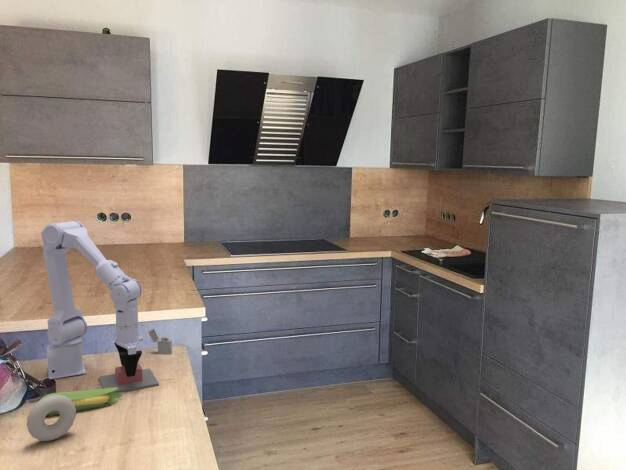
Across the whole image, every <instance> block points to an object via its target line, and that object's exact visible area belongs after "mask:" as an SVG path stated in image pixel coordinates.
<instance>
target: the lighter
mask: <svg viewBox="0 0 626 470" xmlns="http://www.w3.org/2000/svg"><path fill="white" fill-rule="evenodd" d="M148 334H149V336H150V338H151V340H152V342H153V343H156V342H157V355H172V352H173V351H172V349H173V346H172V345H173V344H172V342H173V341H172V339H170V338H169V337H167V336H162V337H161V339H160V338H159V336H158V334H157V332H156V331H155V328H151V329H149V330H148Z"/></svg>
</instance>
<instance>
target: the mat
mask: <svg viewBox="0 0 626 470" xmlns="http://www.w3.org/2000/svg"><path fill="white" fill-rule="evenodd" d="M98 379H99V382H100V385H101V389H104V388H113V387H116V388H118V389H116V390H114V391H112V392H117V393H125V392H131V391H136V390H140V389H146V388H147V387H148V388H152V386H153V387H158V386H160V382H159V381H158V379H157V377H156V375H154V373H153V371H152V370H151V368H149V367H148V368H145V369H143V368H142V381H138V382H133V383H127V384H122V385H118V384H117V381H116V375H115V373H114V374H107V375H102V376H101V375H99V377H98Z"/></svg>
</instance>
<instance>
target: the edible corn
mask: <svg viewBox="0 0 626 470" xmlns="http://www.w3.org/2000/svg"><path fill="white" fill-rule="evenodd" d="M116 389H118V388H116V387H113V388H104V389H103V388H97V389H96V388H95V389H87V390H86V389H85V390H75V391H61V392H52V393H48V394H45V395H43V396H42V397H41V398H40V399H39V400H38V402H39V401H40V400H42V399H43V398H45V397H48V396H51V395H62V396H66V397H67V398H69V399H71V401H72V402H73V403H74V405H75V409H76V412H79V411H80V412H81V411H85V410H91V409H97V408H103V407H110V406H112V404H114V403H117V402H119V401H118V400H117V399H119V398H121V397H122V396H124V394H123V393H122V392H120V393H117V392H112V391H114V390H116ZM56 415H60V414H59V412H58V411H51V412H49V413H48V414H47V415H46V416H49V417H50V416H56ZM46 416H45V417H46Z"/></svg>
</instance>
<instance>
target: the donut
mask: <svg viewBox="0 0 626 470" xmlns="http://www.w3.org/2000/svg"><path fill="white" fill-rule="evenodd" d="M39 400H40V399H39ZM39 400H38V402H36V403H35V404H34V405H33V407H31V409H30V411H29V413H28V415H27V417H26V427H27V430H28V433H29V434H30V435H31V437H32V438H34V439H35V440H37V441H40V442H41V441H42V442H49V441H55V440H56V439H59V438H61V437H63V436H64V435H65V434H66V433H68V431H70V429H71V428H72V426H73V424H74V422H75V420H76V415H77V411H76V409H75V405H74V403H73V402H72V401H71V399H69V398H67V397H66V396H62V395H51V396H48V397H45V398H43V399H42V400H40V401H39ZM51 411H58V412H59V414H58V415H59V417H58V418H57V420H56V421H55V422H53V423H52V424H46V423H45V420H46V419H45V418H46V415H47V414H48V413H49V412H51Z"/></svg>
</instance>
